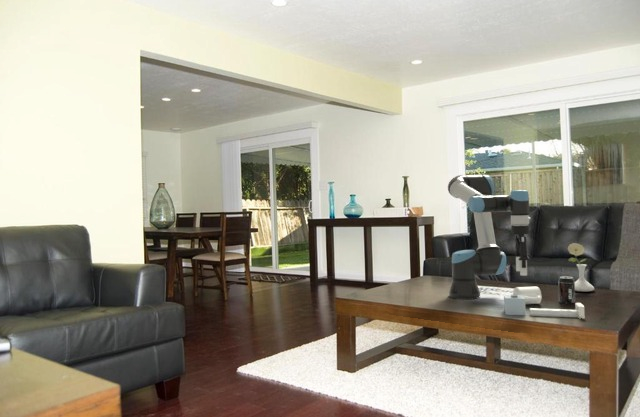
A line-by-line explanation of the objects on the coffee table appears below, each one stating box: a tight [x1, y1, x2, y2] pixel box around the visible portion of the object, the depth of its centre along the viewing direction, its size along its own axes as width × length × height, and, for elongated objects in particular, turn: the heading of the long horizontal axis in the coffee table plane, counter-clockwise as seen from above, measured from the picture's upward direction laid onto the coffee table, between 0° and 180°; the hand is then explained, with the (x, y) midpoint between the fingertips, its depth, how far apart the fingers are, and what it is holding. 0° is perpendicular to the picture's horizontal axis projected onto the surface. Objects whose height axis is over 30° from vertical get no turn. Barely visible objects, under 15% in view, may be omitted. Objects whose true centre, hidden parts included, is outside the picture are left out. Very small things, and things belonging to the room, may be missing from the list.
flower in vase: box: [567, 242, 595, 293], centre depth 259 cm, size 13×11×25 cm
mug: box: [512, 286, 542, 305], centre depth 230 cm, size 12×10×8 cm
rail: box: [529, 302, 586, 320], centre depth 208 cm, size 20×7×5 cm, turn 73°
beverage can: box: [557, 275, 576, 305], centre depth 232 cm, size 7×7×12 cm
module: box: [503, 294, 526, 316], centre depth 215 cm, size 8×7×8 cm
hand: (521, 273), depth 219 cm, fingers open, 13 cm apart
